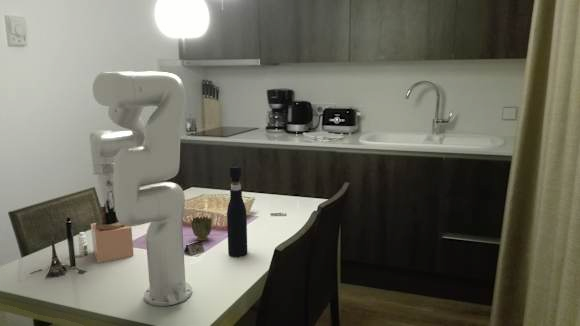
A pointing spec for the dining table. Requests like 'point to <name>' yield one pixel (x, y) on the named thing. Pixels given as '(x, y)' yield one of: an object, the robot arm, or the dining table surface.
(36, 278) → the dining table surface
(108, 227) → the lid
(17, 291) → the dining table surface
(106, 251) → the open-top pink box
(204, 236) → the cup
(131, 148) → the robot arm
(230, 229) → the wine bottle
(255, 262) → the dining table surface
